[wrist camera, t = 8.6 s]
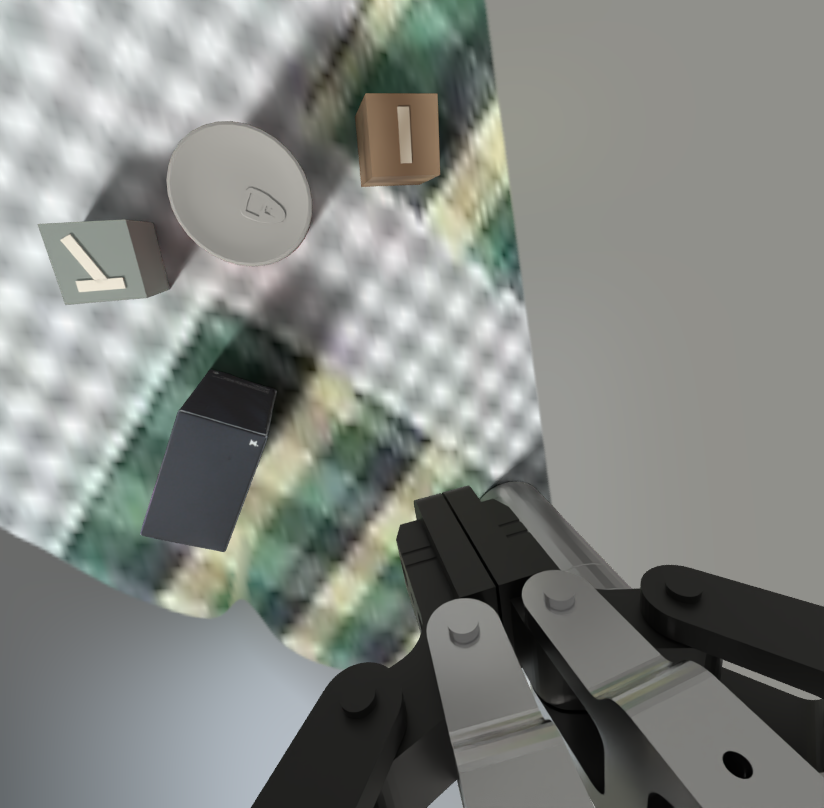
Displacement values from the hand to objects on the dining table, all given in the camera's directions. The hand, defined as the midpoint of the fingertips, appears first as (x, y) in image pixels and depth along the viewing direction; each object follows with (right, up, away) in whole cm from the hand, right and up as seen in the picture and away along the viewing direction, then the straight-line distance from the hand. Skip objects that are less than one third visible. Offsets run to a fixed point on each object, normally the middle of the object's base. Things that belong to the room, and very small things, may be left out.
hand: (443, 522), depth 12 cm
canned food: (-13, +19, +24) cm, 33 cm away
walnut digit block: (-3, +24, +25) cm, 34 cm away
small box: (-18, +1, +29) cm, 34 cm away
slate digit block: (-23, +14, +23) cm, 35 cm away
